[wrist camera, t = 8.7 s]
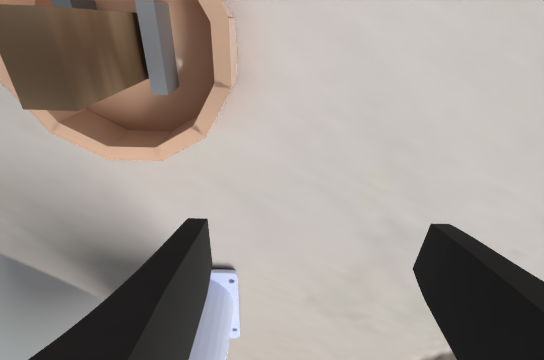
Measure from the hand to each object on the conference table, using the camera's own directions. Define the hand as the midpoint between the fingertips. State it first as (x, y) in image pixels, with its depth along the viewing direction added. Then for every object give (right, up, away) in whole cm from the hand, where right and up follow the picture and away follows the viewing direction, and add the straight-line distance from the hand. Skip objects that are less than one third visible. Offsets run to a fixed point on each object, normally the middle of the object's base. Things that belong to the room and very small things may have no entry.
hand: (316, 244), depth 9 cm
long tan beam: (-9, +9, +6) cm, 14 cm away
